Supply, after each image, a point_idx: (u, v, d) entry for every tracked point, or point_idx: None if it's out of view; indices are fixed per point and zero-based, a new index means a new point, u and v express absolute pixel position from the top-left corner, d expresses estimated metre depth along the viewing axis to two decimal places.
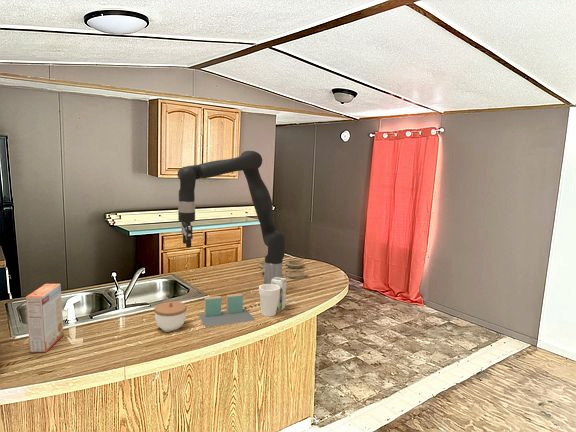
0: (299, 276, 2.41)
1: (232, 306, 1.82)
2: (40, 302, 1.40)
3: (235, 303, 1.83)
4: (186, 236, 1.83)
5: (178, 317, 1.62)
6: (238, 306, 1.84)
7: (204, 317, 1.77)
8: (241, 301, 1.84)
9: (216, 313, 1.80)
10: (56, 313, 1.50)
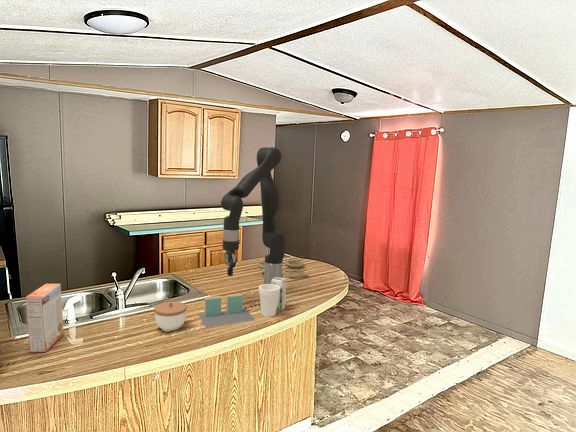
0: (299, 276, 2.41)
1: (232, 306, 1.82)
2: (40, 302, 1.40)
3: (235, 303, 1.83)
4: (228, 266, 1.87)
5: (178, 317, 1.62)
6: (238, 306, 1.84)
7: (204, 317, 1.77)
8: (241, 301, 1.84)
9: (216, 313, 1.80)
10: (56, 313, 1.50)
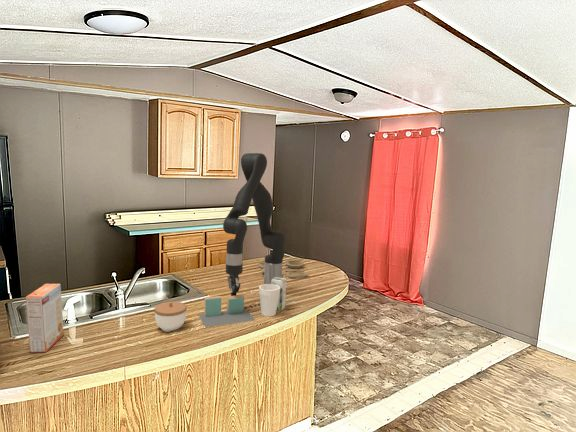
0: (299, 276, 2.41)
1: (233, 307, 1.82)
2: (40, 302, 1.40)
3: (236, 304, 1.82)
4: (232, 290, 1.82)
5: (178, 317, 1.62)
6: (238, 307, 1.83)
7: (204, 317, 1.77)
8: (242, 303, 1.83)
9: (216, 313, 1.80)
10: (56, 313, 1.50)
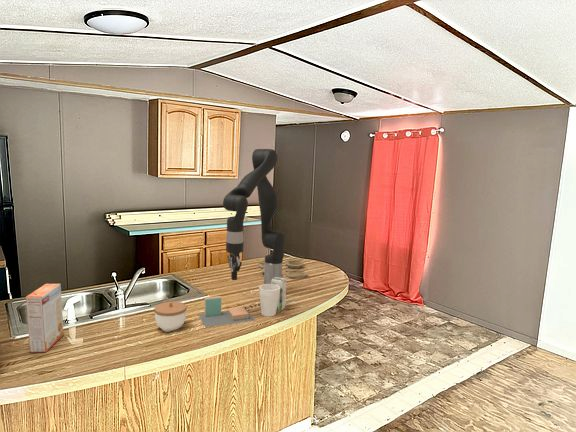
0: (299, 276, 2.41)
1: None
2: (40, 302, 1.40)
3: None
4: (233, 269, 1.76)
5: (178, 317, 1.62)
6: None
7: (204, 317, 1.77)
8: None
9: (216, 313, 1.80)
10: (56, 313, 1.50)
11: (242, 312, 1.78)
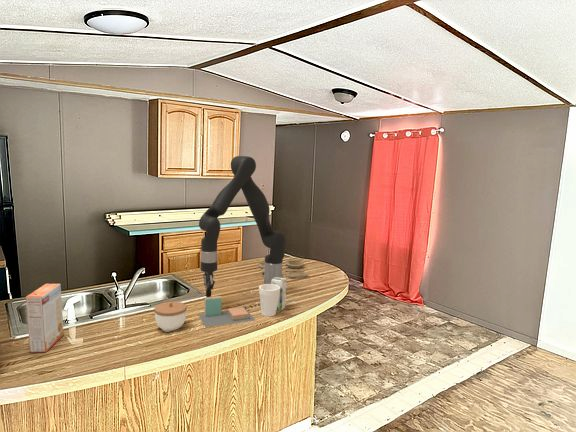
0: (299, 276, 2.41)
1: None
2: (40, 302, 1.40)
3: None
4: (207, 287, 1.84)
5: (178, 317, 1.62)
6: None
7: (204, 317, 1.77)
8: None
9: (216, 313, 1.80)
10: (56, 313, 1.50)
11: (242, 312, 1.78)
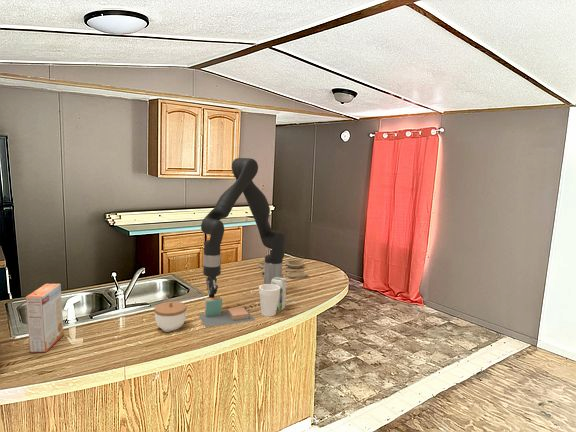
0: (299, 276, 2.41)
1: None
2: (40, 302, 1.40)
3: None
4: (210, 292, 1.79)
5: (178, 317, 1.62)
6: None
7: (204, 317, 1.77)
8: None
9: (216, 313, 1.80)
10: (56, 313, 1.50)
11: (242, 312, 1.78)
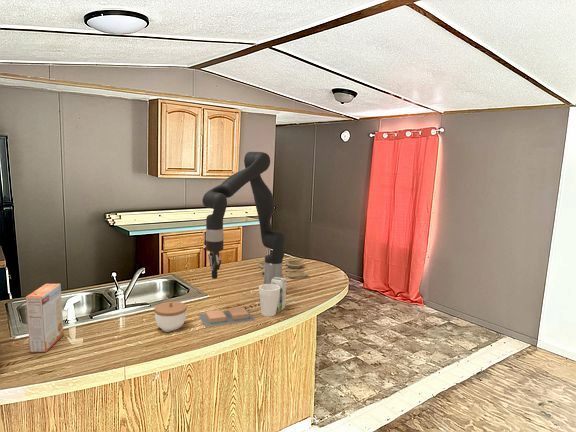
0: (299, 276, 2.41)
1: None
2: (40, 302, 1.40)
3: None
4: (212, 268, 1.74)
5: (178, 317, 1.62)
6: None
7: (204, 317, 1.77)
8: None
9: None
10: (56, 313, 1.50)
11: (242, 312, 1.78)
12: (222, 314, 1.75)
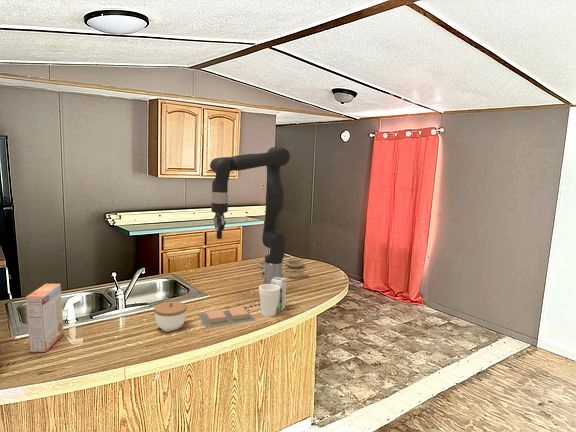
0: (299, 276, 2.41)
1: None
2: (40, 302, 1.40)
3: None
4: (217, 228, 1.88)
5: (178, 317, 1.62)
6: None
7: (204, 317, 1.77)
8: None
9: None
10: (56, 313, 1.50)
11: (242, 312, 1.78)
12: (222, 314, 1.75)
